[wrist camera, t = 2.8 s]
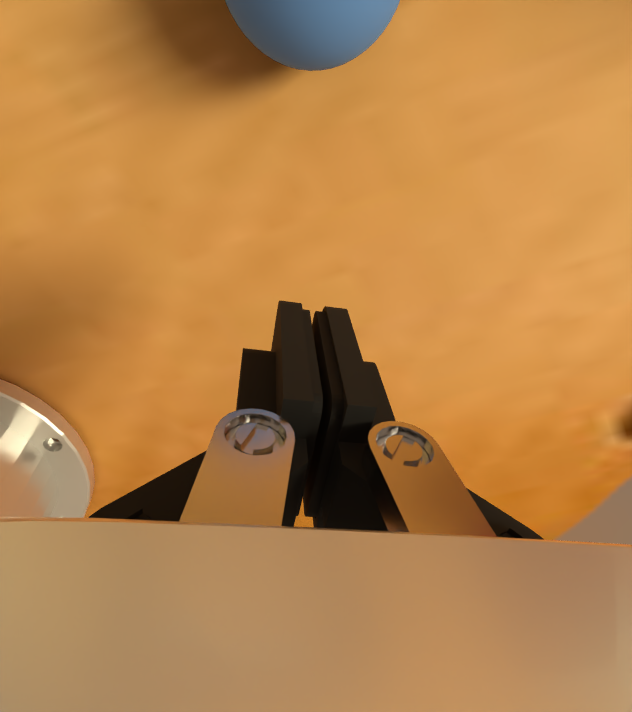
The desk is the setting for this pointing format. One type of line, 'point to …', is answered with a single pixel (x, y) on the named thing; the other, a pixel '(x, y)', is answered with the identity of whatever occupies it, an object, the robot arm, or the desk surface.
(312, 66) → the ball
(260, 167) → the desk surface
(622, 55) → the desk surface
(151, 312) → the desk surface
